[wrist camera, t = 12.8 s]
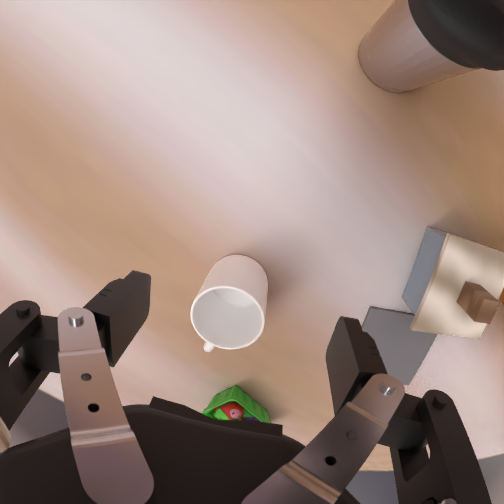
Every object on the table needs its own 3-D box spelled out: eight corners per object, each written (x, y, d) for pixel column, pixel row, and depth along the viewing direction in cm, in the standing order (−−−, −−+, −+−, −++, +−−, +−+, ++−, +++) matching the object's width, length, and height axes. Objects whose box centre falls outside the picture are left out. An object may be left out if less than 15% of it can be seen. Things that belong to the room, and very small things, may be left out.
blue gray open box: (427, 226, 38) (450, 242, 32) (480, 244, 38) (505, 260, 31) (401, 296, 42) (418, 321, 35) (455, 307, 42) (475, 329, 35)
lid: (447, 232, 31) (471, 248, 26) (512, 255, 31) (536, 271, 26) (409, 326, 36) (425, 353, 30) (476, 336, 36) (494, 358, 30)
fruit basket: (277, 412, 52) (275, 461, 41) (241, 427, 54) (234, 473, 44) (237, 377, 49) (227, 427, 39) (200, 395, 52) (186, 442, 41)
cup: (279, 270, 42) (278, 308, 33) (240, 334, 46) (230, 378, 37) (224, 242, 41) (207, 272, 32) (190, 309, 45) (170, 350, 36)
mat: (370, 306, 43) (370, 308, 42) (442, 319, 43) (444, 320, 42) (339, 376, 48) (339, 378, 47) (407, 383, 47) (408, 384, 47)
